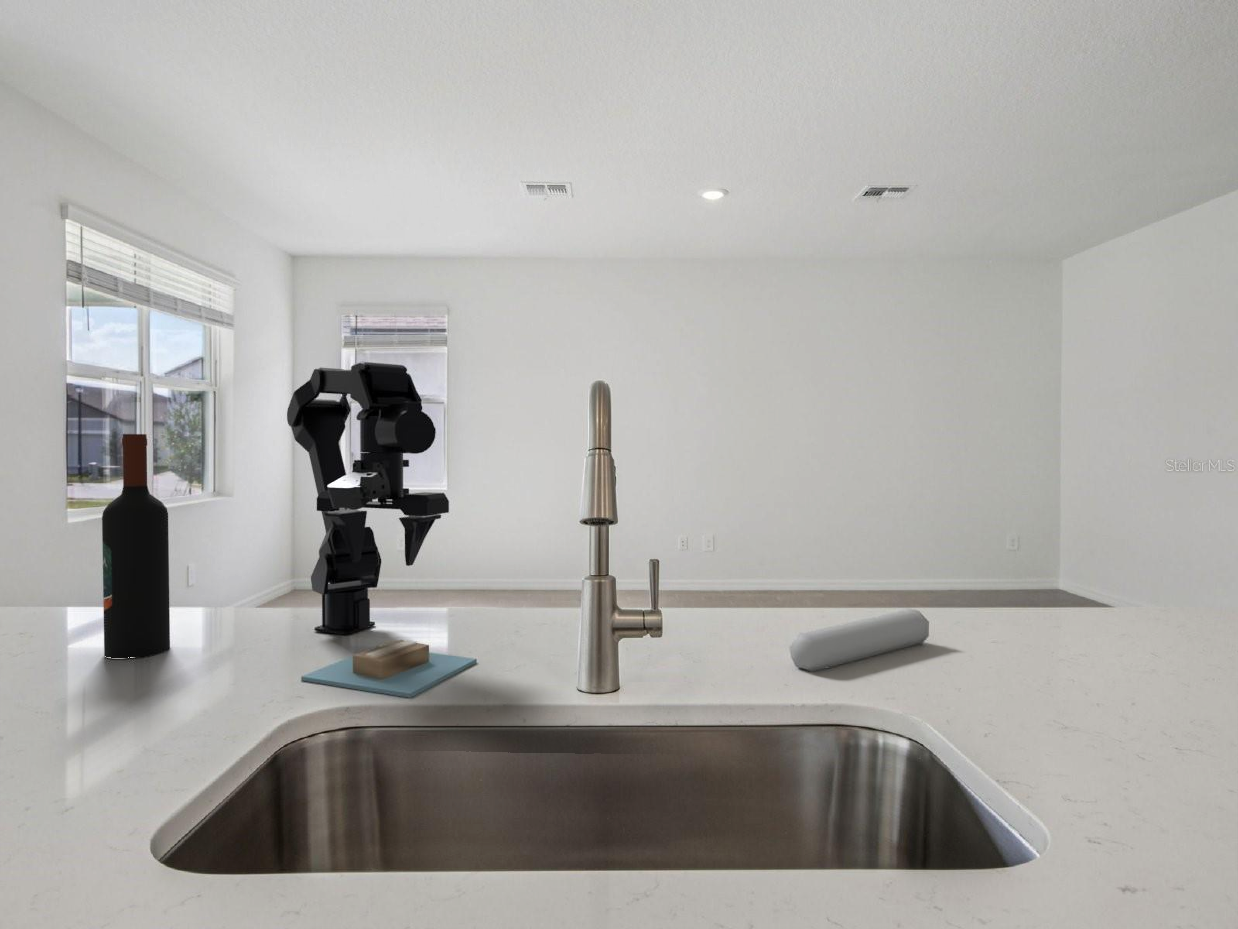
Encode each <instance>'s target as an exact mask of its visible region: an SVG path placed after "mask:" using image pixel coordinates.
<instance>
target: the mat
mask: <svg viewBox="0 0 1238 929" xmlns="http://www.w3.org/2000/svg"><path fill="white" fill-rule="evenodd" d="M380 646H381V645H377V646H374V647H371V648H369V649H367V650H365V651H368V650H371V649H374V648H377V647H380ZM365 651H362V652H365ZM362 652H360V653H362ZM476 663H477V658H474V657H465V656H459V655H458V656H457V655H450V654H443V653H435V652H429V662H427V663H425V664H422V665H419V666H417V667H414V668H411V669H409V670H406V671H403V672H401V673H398V674H395V675H393V676H390V677H387V678H385V679H382V680H381V679H377V678H373V677H368V676H364V675H360V674H355V673H353V655H352V656H350V657H347V658H344V659H342V660H339V661H336V662H333V663H332V664H329V665H327V666H324V667H322V668H318V669H316V670H314V671H311V672H309V673H306V674H304V675H301V676H300V678H301V681H303V682H309V683H315V684H322V685H328V686H333V687H339V688H340V687H341V688H347V689H353V690H360V691H365V692H371V693H377V694H378V693H379V694H385V695H391V696H397V697H401V698H402V697H404V698H408V699H411V698H413V697H415V696H416V695H419V694H420V693H422V692H425V691H426V690H427V689H430V688H432V687H434V686H436V685H437V684H439V683H441V682H443V681H444V680H446V679H448V678H450V677H452V676H454V675H456V674H459V673H460V672H461V671H464V670H466V669H467V668H468V667H470V666H473V665H475V664H476Z"/></svg>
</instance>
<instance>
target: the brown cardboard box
mask: <svg viewBox="0 0 1238 929" xmlns="http://www.w3.org/2000/svg"><path fill="white" fill-rule="evenodd" d="M379 646H380V647H377V648H374V647H373V648H374V649H371V648H370V649H371V650H369V649H367V650H368V651H366V650H365V652H364V651H362V653H361V652H358V653H357V654H353V655H352V656H353V673H355V674H360V675H364V676H368V677H373V678H377V679H381V680H382V679H385V678H387V677H390V676H393V675H395V674H398V673H401V672H403V671H406V670H409V669H411V668H414V667H417V666H419V665H422V664H425V663H427V662H429V653H430V644H425V643H420V642H417V641H413V640H408V639H407V640H405V639H399V640H396V641H393V642H389V643H387V644H384V645H379Z"/></svg>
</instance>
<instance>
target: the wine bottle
mask: <svg viewBox="0 0 1238 929" xmlns="http://www.w3.org/2000/svg"><path fill="white" fill-rule="evenodd" d="M147 435H148V434H147V433H141V434H140V433H122V438H121V446H122V472H123V473H122V482H123V485H122V489H121V490H122V492H121V493H120V495H119V496H117V497H116V498H115V499H113V500H112V501H111V502H109V503H108V504H107V506H106V507H105V508H104V510H103V512H102V516H101V529H102V530H101V534H102V535H101V536H102V537H101V540H102V590H103V592H102V594H103V596H102V597H103V601H102V602H103V603H102V604H103V606H102V607H103V646H104V647H103V650H104V651H103V653H104V656H106V657H111V658H128V657H129V658H130V657H143V658H146V657H145V656H148V657H151V655H152V656H156V655H159V654H162V653H165V652H167V651H169V650H170V649H171V629H170V628H171V626H170V624H171V623H170V622H171V621H170V620H171V619H170V613H171V612H170V558H169V557H170V556H169V555H170V551H169V548H170V547H169V542H170V541H169V512H168V509H167V507H166V506H165V504H164V503H163V502H162V501H161V500H160V499H158V498H157V497H156V496H154V495H152V494H151V493H150V491H149V488H148V449H147V448H148V447H147V446H148V437H147ZM106 657H105V658H106Z"/></svg>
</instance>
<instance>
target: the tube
mask: <svg viewBox="0 0 1238 929" xmlns="http://www.w3.org/2000/svg"><path fill="white" fill-rule="evenodd" d="M929 634H930V621H929V620H928V619H927V618H926V617H925V616H924V615H923V614H922V612H920V610H917V609H912V608H908V607H903V609H901V610H898V611H893V612H890V613H885V614H880V615H876V616H872V617H871V616H870V617H866V618H863V619H859V620H858V619H857V620H854V621H849V622H845V623H841V624H835V625H832V626H827V627H822V628H817V629H814V630H810V631H809V630H808V631H805V632H799V633H798V635H797V636H796V638H795V639H794V640H793V641H792V643H791V644H790V645H789V653H790V659H791V660H792V662H793V664H794V666H795V667H796V668H798V669H802V668H803V670H805V669H806V670H805V671H808V670H809V671H808V672H817V671H820V670H819V669H821V670H824V669H823V668H825V669H827V668H826V667H829V668H832V666H833V667H836V666H840V665H843V664H848V663H851V662H855V661H859V660H863V659H867V658H870V657H874V656H877V655H882V654H886V653H890V652H893V651H898V650H901V649H904V648H905V649H906V648H908V647H912V646H917V645H922V644H923V643H924V642H926V640H927V639H928V637H929V636H930V635H929ZM839 664H840V665H839ZM835 665H836V666H835ZM816 670H817V671H816Z"/></svg>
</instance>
